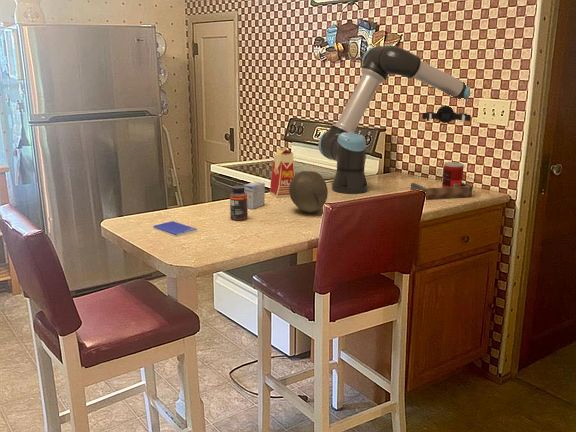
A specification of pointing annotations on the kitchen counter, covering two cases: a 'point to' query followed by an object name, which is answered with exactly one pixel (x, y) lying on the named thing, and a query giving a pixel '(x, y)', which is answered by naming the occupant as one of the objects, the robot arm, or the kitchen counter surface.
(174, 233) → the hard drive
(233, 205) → the supplement bottle
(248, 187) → the medicine box
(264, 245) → the kitchen counter surface
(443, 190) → the rail board
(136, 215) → the kitchen counter surface
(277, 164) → the milk carton
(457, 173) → the canned food
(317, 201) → the dark grey round ball
